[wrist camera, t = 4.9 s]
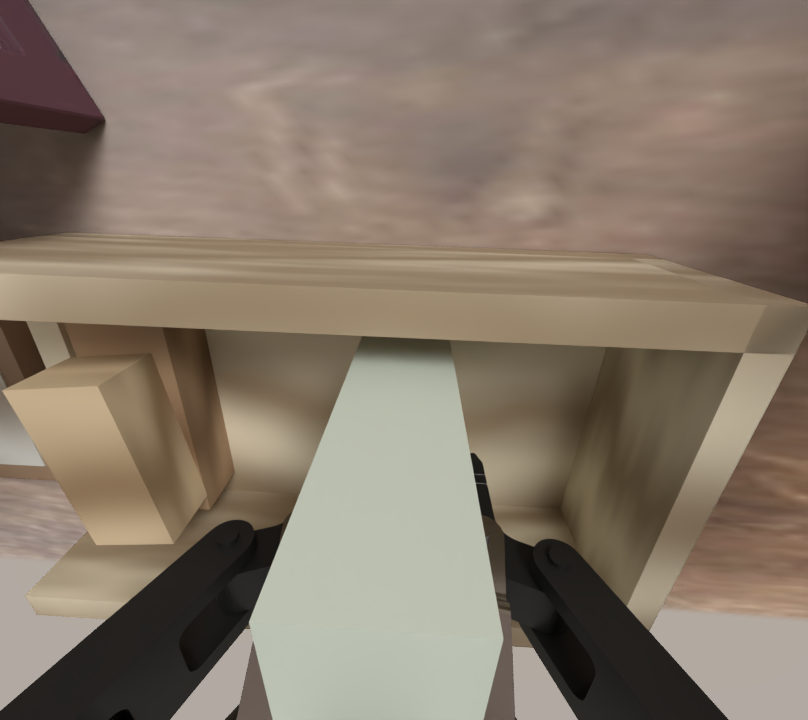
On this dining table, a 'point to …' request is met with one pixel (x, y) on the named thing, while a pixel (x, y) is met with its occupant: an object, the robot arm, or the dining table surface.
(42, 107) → the picture frame
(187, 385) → the offcut lower
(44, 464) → the board
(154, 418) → the offcut upper
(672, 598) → the dining table surface
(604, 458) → the tray
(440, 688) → the pale green slanted prism
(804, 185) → the dining table surface
